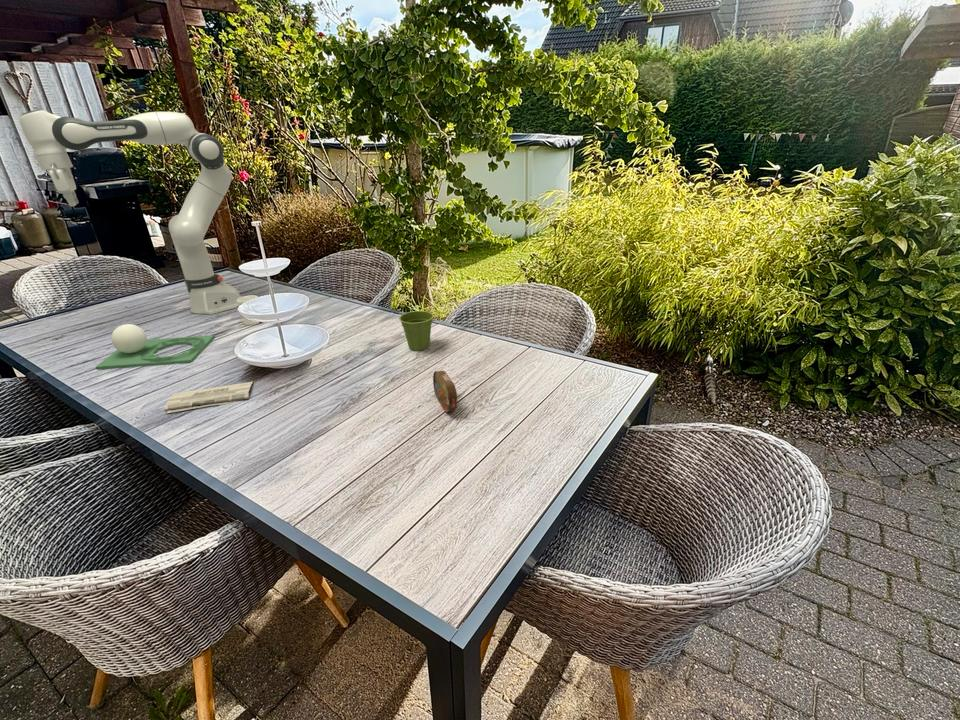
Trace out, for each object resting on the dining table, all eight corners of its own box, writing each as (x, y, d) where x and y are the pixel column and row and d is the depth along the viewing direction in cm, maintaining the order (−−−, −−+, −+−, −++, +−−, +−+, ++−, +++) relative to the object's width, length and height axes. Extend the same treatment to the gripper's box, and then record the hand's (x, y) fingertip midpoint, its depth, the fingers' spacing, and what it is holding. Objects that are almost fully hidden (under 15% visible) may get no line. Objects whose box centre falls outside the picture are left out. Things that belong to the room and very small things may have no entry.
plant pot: (438, 339, 173) (436, 310, 168) (432, 354, 163) (430, 323, 158) (406, 339, 175) (403, 310, 170) (398, 353, 164) (394, 322, 159)
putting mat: (96, 369, 159) (95, 366, 159) (130, 343, 178) (129, 340, 177) (191, 362, 162) (190, 360, 161) (214, 337, 181) (214, 335, 180)
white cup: (267, 318, 197) (261, 295, 192) (257, 326, 190) (251, 302, 185) (249, 318, 198) (243, 295, 193) (238, 325, 191) (232, 301, 186)
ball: (150, 343, 175) (140, 317, 170) (151, 352, 167) (142, 326, 163) (117, 350, 170) (106, 324, 165) (117, 360, 162) (106, 333, 158)
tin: (433, 392, 140) (431, 366, 137) (443, 389, 141) (441, 364, 138) (448, 418, 128) (446, 391, 124) (459, 416, 129) (458, 388, 125)
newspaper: (163, 417, 133) (161, 409, 132) (177, 399, 144) (175, 391, 143) (251, 403, 138) (249, 395, 137) (258, 387, 149) (256, 379, 148)
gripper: (63, 162, 159) (82, 205, 165) (69, 161, 175) (87, 201, 181) (39, 165, 156) (60, 209, 162) (48, 164, 172) (66, 204, 178)
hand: (74, 205), depth 172 cm, fingers open, 8 cm apart
